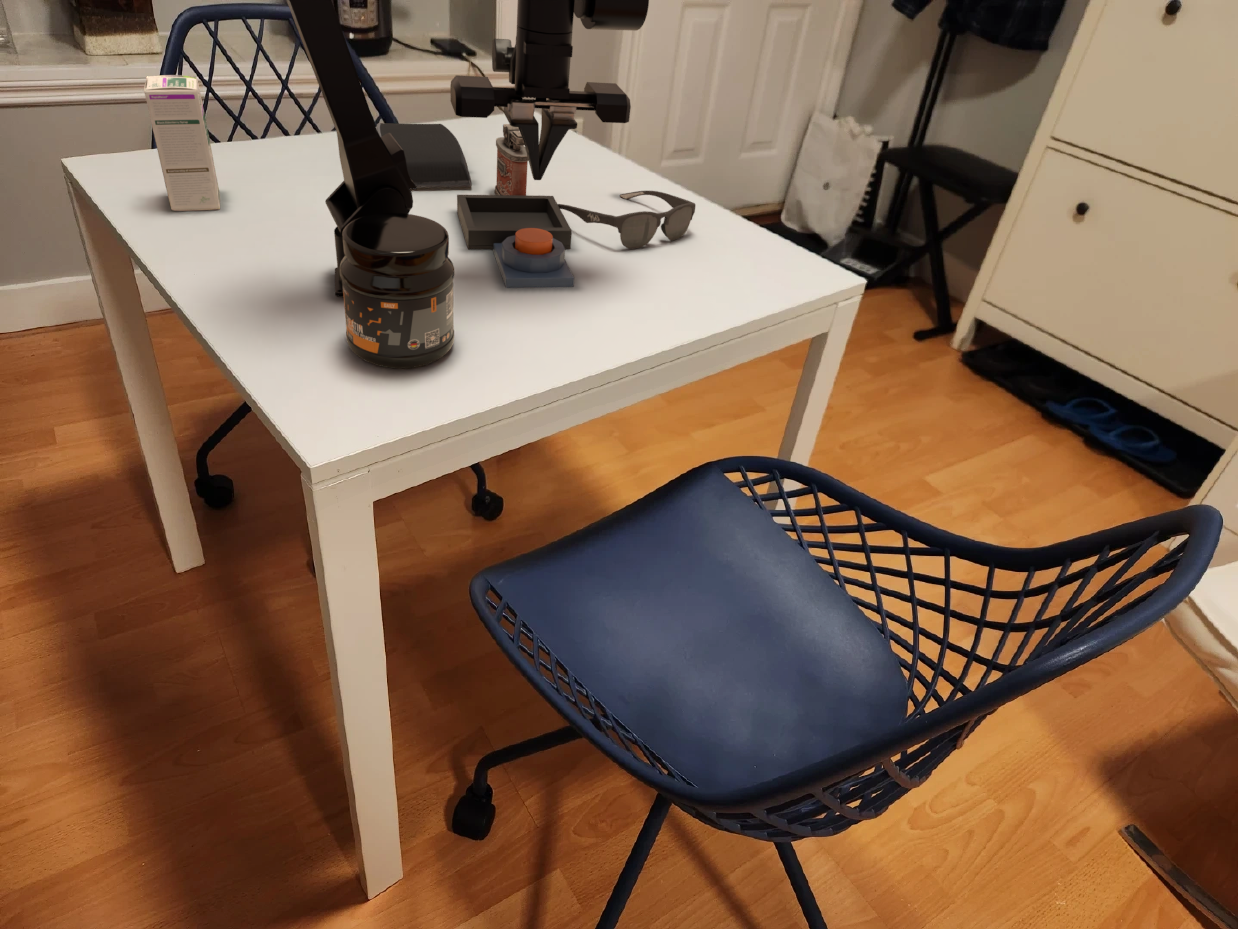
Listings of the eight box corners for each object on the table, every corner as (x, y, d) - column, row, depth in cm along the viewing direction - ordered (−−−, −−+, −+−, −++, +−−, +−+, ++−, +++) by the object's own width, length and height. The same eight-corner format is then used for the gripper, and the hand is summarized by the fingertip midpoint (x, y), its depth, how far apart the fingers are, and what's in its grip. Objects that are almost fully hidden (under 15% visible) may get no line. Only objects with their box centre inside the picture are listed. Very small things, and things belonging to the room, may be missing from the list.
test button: (555, 256, 101) (556, 242, 100) (518, 256, 100) (518, 242, 99) (548, 241, 105) (548, 227, 104) (512, 241, 104) (512, 227, 103)
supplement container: (331, 331, 87) (320, 217, 80) (429, 313, 92) (426, 204, 85) (369, 382, 80) (360, 262, 73) (472, 360, 86) (473, 246, 79)
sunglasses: (614, 256, 109) (617, 217, 107) (537, 223, 120) (537, 186, 117) (705, 237, 119) (710, 201, 116) (626, 208, 129) (628, 173, 127)
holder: (570, 249, 110) (572, 230, 109) (468, 249, 107) (468, 230, 105) (552, 213, 119) (553, 195, 118) (457, 212, 116) (457, 194, 114)
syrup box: (221, 209, 108) (200, 87, 99) (169, 211, 106) (142, 87, 97) (219, 193, 112) (199, 74, 103) (169, 194, 110) (144, 73, 101)
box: (573, 287, 101) (575, 263, 100) (505, 288, 99) (506, 263, 97) (556, 251, 109) (558, 229, 107) (493, 252, 107) (493, 228, 105)
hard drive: (383, 191, 119) (381, 161, 116) (366, 145, 133) (365, 118, 131) (477, 189, 123) (477, 161, 121) (451, 145, 137) (451, 119, 135)
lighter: (490, 190, 124) (491, 118, 118) (512, 189, 125) (514, 118, 119) (508, 211, 118) (511, 137, 112) (532, 210, 119) (535, 136, 113)
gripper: (612, 17, 97) (599, 157, 106) (444, 5, 92) (445, 153, 101) (639, 40, 88) (622, 190, 98) (456, 28, 83) (456, 187, 93)
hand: (536, 178), depth 98 cm, fingers closed
